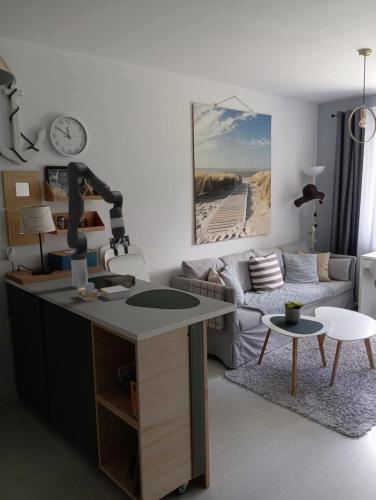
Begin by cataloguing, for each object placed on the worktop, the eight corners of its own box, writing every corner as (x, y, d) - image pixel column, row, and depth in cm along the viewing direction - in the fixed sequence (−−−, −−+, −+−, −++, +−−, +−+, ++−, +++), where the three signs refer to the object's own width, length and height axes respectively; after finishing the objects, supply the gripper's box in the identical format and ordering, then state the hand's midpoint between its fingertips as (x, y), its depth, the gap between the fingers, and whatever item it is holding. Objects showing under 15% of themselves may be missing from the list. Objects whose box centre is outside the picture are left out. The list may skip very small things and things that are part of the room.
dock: (101, 295, 228) (100, 288, 227) (120, 292, 234) (120, 285, 234) (110, 300, 217) (109, 292, 217) (130, 296, 224) (130, 289, 223)
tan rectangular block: (77, 296, 228) (77, 288, 227) (88, 295, 231) (87, 286, 230) (86, 302, 216) (86, 292, 215) (97, 300, 219) (97, 291, 219)
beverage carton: (136, 285, 252) (135, 274, 251) (111, 291, 238) (111, 280, 237) (127, 283, 257) (127, 273, 256) (103, 289, 243) (102, 278, 242)
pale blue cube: (84, 290, 220) (84, 283, 220) (91, 289, 223) (91, 282, 222) (87, 292, 217) (86, 284, 217) (94, 290, 219) (94, 283, 219)
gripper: (120, 226, 236) (124, 253, 238) (103, 228, 224) (108, 257, 226) (130, 224, 233) (134, 252, 234) (114, 226, 220) (118, 256, 222)
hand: (121, 254), depth 230 cm, fingers open, 8 cm apart
